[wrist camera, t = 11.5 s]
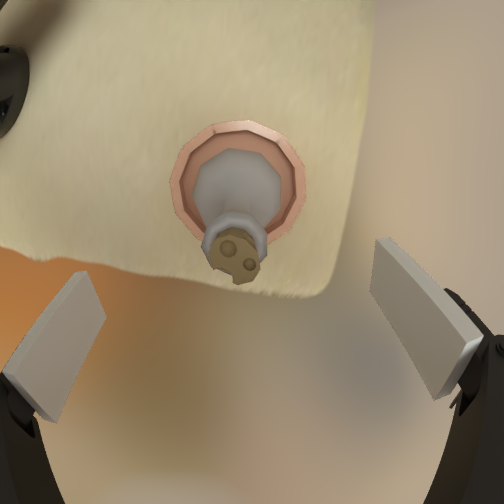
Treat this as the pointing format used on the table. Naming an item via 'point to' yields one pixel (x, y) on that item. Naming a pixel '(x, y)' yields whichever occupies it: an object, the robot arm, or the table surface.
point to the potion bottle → (237, 210)
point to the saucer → (241, 138)
